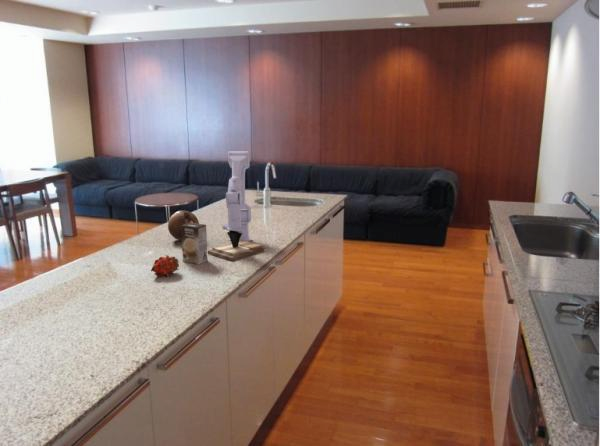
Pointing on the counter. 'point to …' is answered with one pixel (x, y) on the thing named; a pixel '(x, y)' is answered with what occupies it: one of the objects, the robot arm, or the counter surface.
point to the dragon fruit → (165, 266)
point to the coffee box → (194, 243)
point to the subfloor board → (253, 250)
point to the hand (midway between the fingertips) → (235, 246)
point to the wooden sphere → (180, 222)
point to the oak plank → (231, 249)
